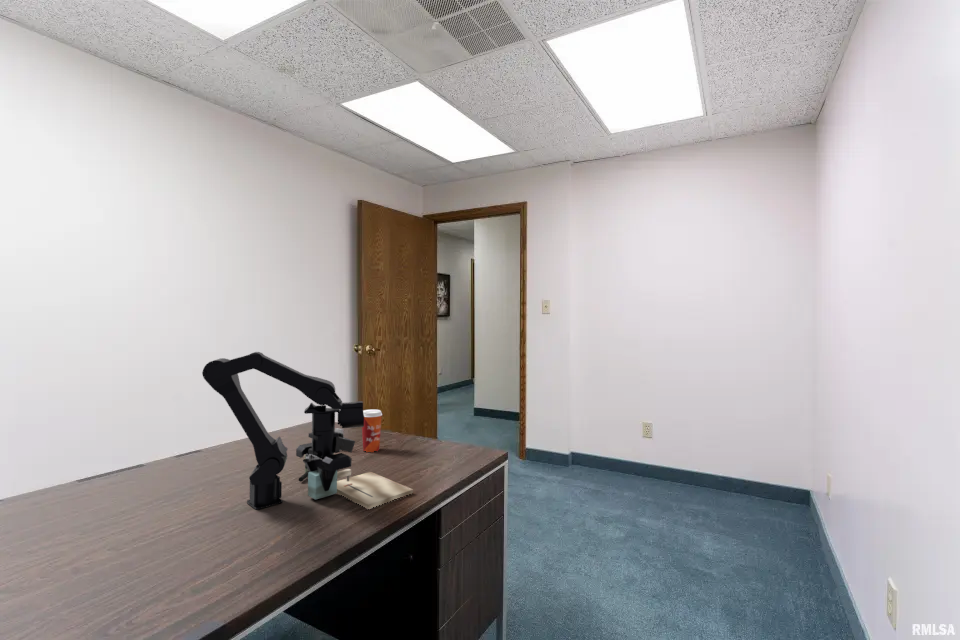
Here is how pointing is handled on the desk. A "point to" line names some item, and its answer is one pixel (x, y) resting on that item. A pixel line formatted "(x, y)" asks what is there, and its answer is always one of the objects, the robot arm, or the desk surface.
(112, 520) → the desk surface
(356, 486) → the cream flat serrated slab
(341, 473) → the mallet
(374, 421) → the paper cup
